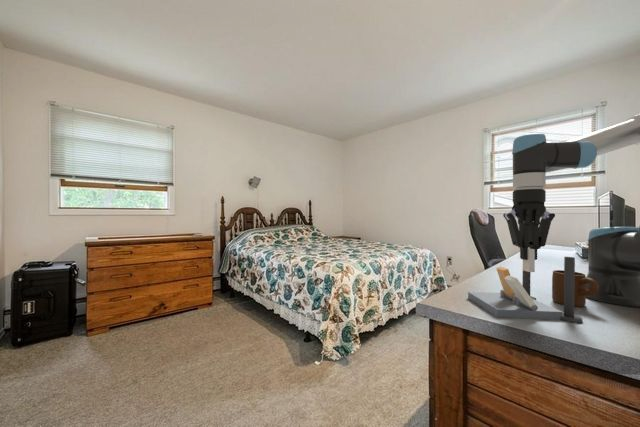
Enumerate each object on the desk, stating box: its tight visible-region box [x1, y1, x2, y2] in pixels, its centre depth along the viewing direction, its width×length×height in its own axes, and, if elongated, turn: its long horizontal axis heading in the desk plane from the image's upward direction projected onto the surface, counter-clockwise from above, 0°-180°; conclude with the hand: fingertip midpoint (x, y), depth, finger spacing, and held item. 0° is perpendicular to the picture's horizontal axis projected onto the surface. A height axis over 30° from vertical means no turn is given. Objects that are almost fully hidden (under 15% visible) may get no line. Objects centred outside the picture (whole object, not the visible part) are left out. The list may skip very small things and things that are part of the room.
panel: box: [467, 289, 563, 321], centre depth 78 cm, size 16×16×4 cm
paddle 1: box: [496, 266, 516, 300], centre depth 79 cm, size 2×4×9 cm, turn 176°
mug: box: [551, 269, 599, 308], centre depth 80 cm, size 12×8×9 cm, turn 3°
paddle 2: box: [504, 275, 538, 311], centre depth 71 cm, size 2×4×9 cm
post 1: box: [521, 269, 537, 301], centre depth 86 cm, size 5×5×16 cm
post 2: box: [559, 256, 583, 324], centre depth 70 cm, size 5×5×16 cm
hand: (528, 271), depth 78 cm, fingers closed
